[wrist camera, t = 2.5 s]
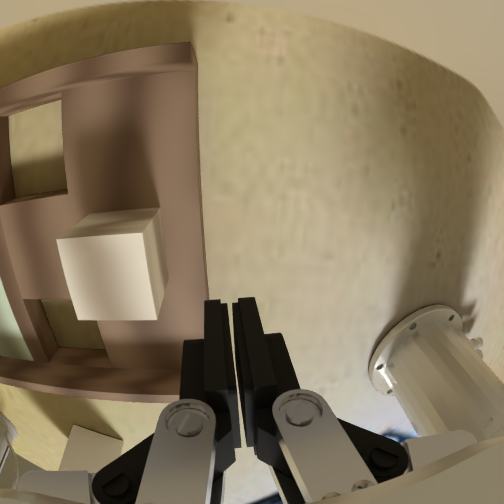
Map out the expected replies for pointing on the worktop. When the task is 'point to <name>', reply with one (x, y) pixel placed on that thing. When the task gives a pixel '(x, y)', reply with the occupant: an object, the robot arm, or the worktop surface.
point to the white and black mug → (8, 445)
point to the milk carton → (89, 450)
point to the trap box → (106, 200)
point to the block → (116, 265)
